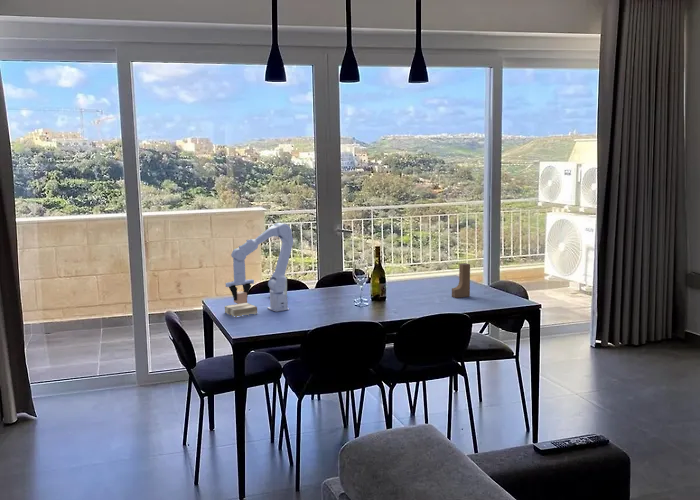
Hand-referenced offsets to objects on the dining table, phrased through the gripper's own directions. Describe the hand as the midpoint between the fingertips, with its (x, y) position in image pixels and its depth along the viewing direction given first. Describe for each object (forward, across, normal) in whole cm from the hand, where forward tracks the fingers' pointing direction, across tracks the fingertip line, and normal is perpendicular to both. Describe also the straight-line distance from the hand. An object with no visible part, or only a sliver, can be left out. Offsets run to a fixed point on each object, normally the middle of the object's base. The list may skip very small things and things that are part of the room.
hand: (240, 299), depth 336 cm
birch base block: (+8, 0, 0) cm, 8 cm away
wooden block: (+7, -112, +40) cm, 119 cm away
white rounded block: (+7, -35, -25) cm, 44 cm away
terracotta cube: (+2, 0, 0) cm, 2 cm away
